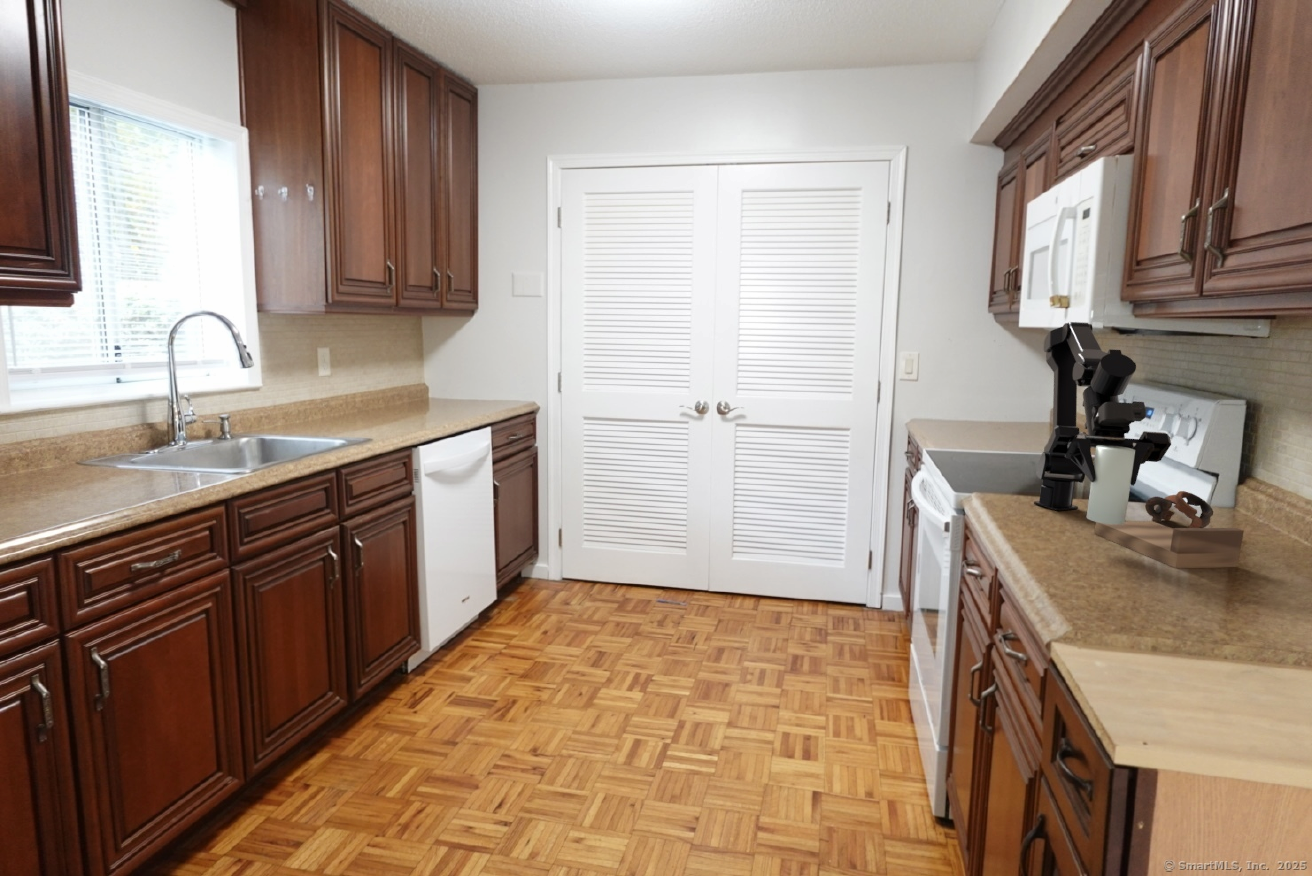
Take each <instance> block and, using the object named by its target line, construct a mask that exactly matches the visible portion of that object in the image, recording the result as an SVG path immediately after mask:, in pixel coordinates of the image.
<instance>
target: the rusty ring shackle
mask: <svg viewBox="0 0 1312 876" xmlns="http://www.w3.org/2000/svg"><path fill="white" fill-rule="evenodd" d="M1184 499H1186V501H1187V502H1186V501H1185V500H1184ZM1173 504H1174V506H1173ZM1172 506H1173V508H1175V509H1177V510H1178V511H1179V512H1180V513H1182V514H1184V515H1185V516H1186V518H1188V519H1191V523H1190V525H1188V526H1187V528H1207V527H1208V526H1209V525H1210V524H1211V517H1212V516H1214V510H1213V508H1212V506H1211V505H1210V504H1209V503H1208V502H1207V501H1205V499H1204V498H1201V497H1200V496H1198V495H1196V494H1195V493H1192V492H1189V491H1185V490H1179V491H1178V492H1177V493H1176V494H1172V495H1168V496H1165V497H1164V498H1163V497H1160V496H1153V497H1149V499H1148V500H1147V501H1146V502H1145V512H1146V513H1147V514H1148V515H1149V516H1150V517H1151V521H1153V522H1156V523H1161V522H1162V520H1164V521H1170V520H1171V518H1172V517H1173V515H1175V511H1172V510H1170V509H1171V508H1172ZM1193 506H1194V507H1200V509H1201V510H1200V511H1201V513H1200V516H1197V514H1198V510H1197V509H1196V508H1194V507H1193ZM1155 507H1156V508H1155Z"/></svg>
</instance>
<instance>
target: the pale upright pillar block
mask: <svg viewBox="0 0 1312 876" xmlns="http://www.w3.org/2000/svg"><path fill="white" fill-rule="evenodd" d="M1134 456H1135V450H1134V449H1131V448H1127V447H1121V446H1111V445H1097V446H1096V448H1095V451H1094V458H1093V465H1094V469H1095V481H1094V482H1091V481H1090V487H1089V488H1090V489H1089V498H1088V503H1087V512H1086V519H1087V520H1089V521H1092V522H1095V523H1096V522H1099V523H1104V524H1112V525H1121V524H1125V521H1126V518H1127V510H1128V506H1129V505H1128V504H1129V496H1130V490H1131V477H1132V470H1133V463H1134Z"/></svg>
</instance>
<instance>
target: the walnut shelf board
mask: <svg viewBox="0 0 1312 876" xmlns="http://www.w3.org/2000/svg"><path fill="white" fill-rule="evenodd" d="M1244 532H1245V531H1244V529H1241V528H1238V527H1204V528H1188V527H1175V528H1174V527H1173V528H1172V527H1169V526H1167V525H1164V524H1160V523H1159V522H1156V521H1154V522H1153V521H1152V520H1134V521H1133V520H1125V524H1121V525H1112V524H1104V523H1099V522H1095V527H1094V531H1093V534H1094V535H1096V536H1098V537H1101V538H1103V539H1105V540H1108V541H1111V542H1113V543H1116V544H1118V545H1120V546H1121V547H1124V548H1126V549H1129V548H1130V550H1132V551H1134V552H1137V553H1139V554H1141V555H1144V556H1146V557H1147V558H1151V559H1153V560H1156V561H1157V562H1160V563H1162V564H1164V565H1168V566H1170V567H1172V568H1175V569H1189V568H1190V569H1193V568H1195V569H1196V568H1197V569H1199V568H1200V569H1201V568H1203V569H1205V568H1211V569H1212V568H1238V566H1239V562H1240V555H1241V549H1242V543H1243V537H1244Z"/></svg>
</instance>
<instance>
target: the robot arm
mask: <svg viewBox="0 0 1312 876" xmlns="http://www.w3.org/2000/svg"><path fill="white" fill-rule="evenodd" d="M1093 330H1094V328H1093V325H1092V324H1091V323H1089V322H1081V321H1080V322H1079V321H1075V322H1074V321H1069V322H1065V323H1064V324H1063V326H1060V327H1057V328H1055V329H1052V330H1050V331H1049V332H1048V333H1047V335H1046V336H1045V338H1044V342H1043V352H1044V353H1045V361H1046V364H1047V365H1048V366H1049V367H1050V369H1051V370H1052V371H1053V401H1052V403H1053V404H1052V407H1053V408H1052V410H1053V411H1052V432H1051V434H1050V436H1049V439H1048V441H1047V443H1046V444H1045V445H1044V448H1043V449H1044V450H1043V452H1042V453H1041V456H1040V457H1039V460H1038V462H1037V464H1036V469H1035V470H1036V471H1035V472H1036V474H1035V475H1036V477H1038V479H1040V480H1041V481H1042V482H1041V485H1040V490H1039V491H1040V493H1039V500H1036V501H1035V500H1034V501H1033V504H1034V505H1037V506H1040V507H1044V508H1048V509H1052V510H1054V511H1058V512H1059V511H1066V510H1067V511H1069V510H1079V505H1074V504H1073V501H1074V492H1075V485H1076V483H1080V484H1081V483H1084V481H1085V478H1086V477H1087V479H1088V480H1089V481H1090V483H1091V482H1094V481H1095V469H1094V459H1093V456H1092V451H1091V450H1092V449H1096V446H1097V445H1111V446H1121V447H1127V448H1131V449H1134V450H1135V456H1134V463H1133V470H1132V477H1131V484H1130V486H1135V484H1136V482H1137V479H1138V475H1139V471H1140V467H1141V465H1142V464H1146V462H1152V463H1153V462H1154V463H1156V462H1160V461H1162V459H1163V458H1164V456H1165V455H1166V453H1167V451H1168V450H1169V448H1170V447H1171V446H1172V441H1171V437H1170V435H1169V434H1168V433H1166V432H1162V431H1160V432H1159V431H1147V430H1146V431H1145V430H1144V431H1142V433H1141V435H1140V437H1139V438H1127V437H1126V435H1125V434H1129V433H1130V431H1131V426H1130V425H1131V424H1133V423H1135V422H1142V421H1143V420H1144V419H1145V418H1146V417H1147V410H1146V405H1145V402H1144V401H1132V402H1120V400H1119V396H1120V395H1123V394H1124V393H1125V391H1126V390H1127V388H1128V386H1129V383H1130V382H1131V380H1132V377H1133V376H1134V374H1135V372H1136V370H1137V364H1136V362H1134V360H1133V359H1131V357H1129V356H1128V355H1125V354H1123V353H1122V349H1110V348H1109V349H1108V351H1107V352H1105V351H1103V350H1102V348H1101V347H1100V344H1099V342H1098V340H1097V338H1096V336H1095V335H1094V334H1095V333H1093V332H1094V331H1093ZM1078 387H1084V388H1085V387H1086V388H1085V389H1084V390H1083V392H1082V407H1084V413H1085V422H1084V429H1085V430H1087V433H1086V432H1085V431H1080V427H1079V426H1077V405H1078V404H1077V402H1078V401H1077V400H1078V399H1077V398H1078Z"/></svg>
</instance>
